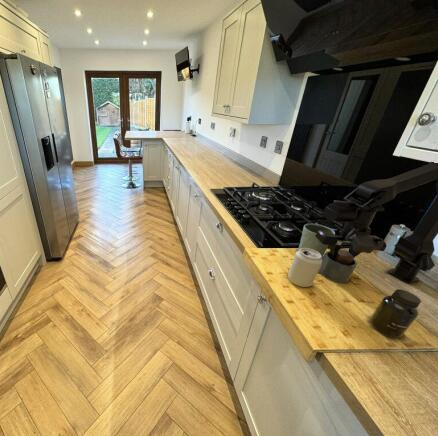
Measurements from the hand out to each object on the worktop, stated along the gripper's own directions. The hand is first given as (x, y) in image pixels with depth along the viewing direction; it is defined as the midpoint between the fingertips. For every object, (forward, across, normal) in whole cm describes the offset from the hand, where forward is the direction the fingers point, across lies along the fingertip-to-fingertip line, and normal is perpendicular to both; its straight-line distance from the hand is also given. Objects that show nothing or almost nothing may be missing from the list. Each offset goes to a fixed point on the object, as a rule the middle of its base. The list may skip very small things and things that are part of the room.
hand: (339, 260), depth 83 cm
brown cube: (+1, 0, 0) cm, 1 cm away
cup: (+6, 0, 0) cm, 6 cm away
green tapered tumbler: (+6, -3, +12) cm, 14 cm away
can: (+6, -14, -7) cm, 17 cm away
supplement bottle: (+6, +2, -23) cm, 24 cm away
